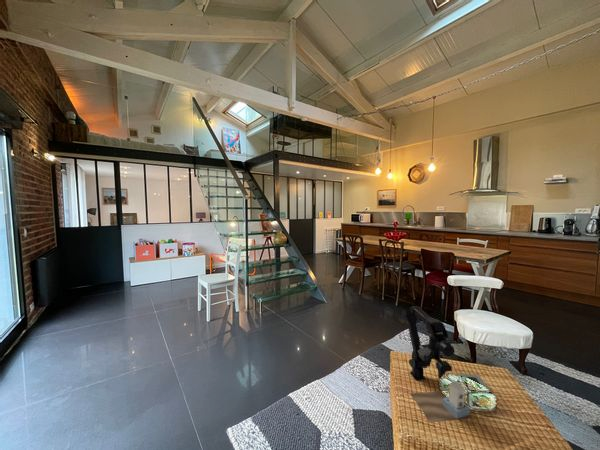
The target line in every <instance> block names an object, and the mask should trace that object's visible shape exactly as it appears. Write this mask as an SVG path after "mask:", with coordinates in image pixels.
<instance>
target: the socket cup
mask: <svg viewBox="0 0 600 450" xmlns="http://www.w3.org/2000/svg"><path fill="white" fill-rule="evenodd" d="M443 406H444V407H445V408H446V409H447V410H448V411H449V412H450V413H451V414H452V415H453V416H454V417H455V418H456V419H458V418H461V417H464V416H468V415H471V413H470V412H471V407H470V406H469V405H467V404H466V403H465V402H464V408H461V409H458V410H457V409H456V408H454V407H453V406H452V405H451V404H450V403H449V397H447V398H443Z"/></svg>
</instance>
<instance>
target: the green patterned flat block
mask: <svg viewBox="0 0 600 450" xmlns="http://www.w3.org/2000/svg"><path fill="white" fill-rule="evenodd" d="M458 375H459V376H460V377H461V376H463V377H466V378H469V379H471V380H473V381H475V382H477V383H479V384H481V385H483V386H485V387H486V388H488V389H489V390H490V391H491V389H490V388H489V387H488V386H487V384H486V383H485V382H484V381H483V379H482V378H481V376H480V375H478V374H471V373H462V372H458Z"/></svg>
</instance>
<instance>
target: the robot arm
mask: <svg viewBox="0 0 600 450" xmlns="http://www.w3.org/2000/svg"><path fill="white" fill-rule="evenodd" d="M401 315H402V318H403V321H404V322H405V323H406V324H407V328H408V332H409V337H410V342H411V346H412V350H413V351H412V352H411V359H409V360H408V365H409V366H410V367H411V368H412V370H410V371H409V373H410V375H411V376H412V377H413V379H414V380H416V381H417V380H419V381H421V380H426V377H425V375H424V369H427V368H428V367H430V365H431V363H432V360H435V362H436V363H435V368H436V369H437V377H438V378H437V379H441V378H443V376H445V374H446V373H447V372H452V371H453V366H452V365H451V364H450V363H449V362H448V361H447V360H442V358H444V357H443V355H444V356H445V357H452V356H453V355H454V354H455V352H456V351H455V348H454V346H453V345H452V343H451V342H450V341H448V340H447V339H449V338H450V337H449V335H448V332H447V329H446V327H445V325H444V323H443V321H441V320H440V319H437V318H433V317H431V316H430V315H429V314H428V313H426V312H425V311H424V310H423V309H422V308H421V307H420V306H418V305H417V306H416V305H415V306H414V305H413V306H411V307H408V308H406V309H405V308H404V309H403V310H402V311H401ZM418 319H419V320H420V321H422V323H424V324H425V328H426V330H427V331H426V333H428V335H429V336H428V337H429V338H428V343H427V344H421V340H420V336H419V335H420V334H419V331H418V327H417V323H418ZM442 354H443V355H442Z"/></svg>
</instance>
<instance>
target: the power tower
mask: <svg viewBox="0 0 600 450" xmlns="http://www.w3.org/2000/svg"><path fill="white" fill-rule="evenodd" d="M465 390H466V388H465V387H464V386H463V385H462V384H461V383H460V382H458V381H453V382H450V383H449V389H448V391H449V403H450V404H451V405H452V406H453V407H454V408H456V409H457V410H458V409H461V408H464V403H465Z"/></svg>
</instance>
